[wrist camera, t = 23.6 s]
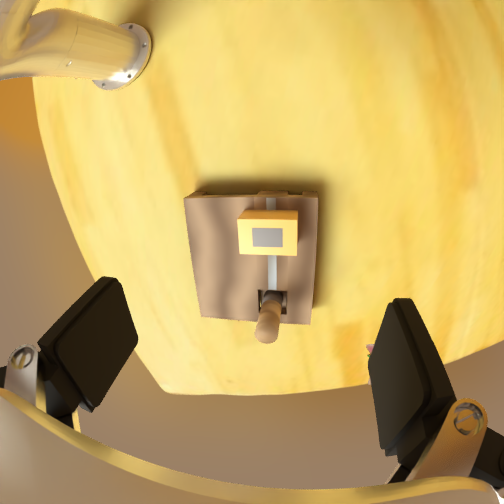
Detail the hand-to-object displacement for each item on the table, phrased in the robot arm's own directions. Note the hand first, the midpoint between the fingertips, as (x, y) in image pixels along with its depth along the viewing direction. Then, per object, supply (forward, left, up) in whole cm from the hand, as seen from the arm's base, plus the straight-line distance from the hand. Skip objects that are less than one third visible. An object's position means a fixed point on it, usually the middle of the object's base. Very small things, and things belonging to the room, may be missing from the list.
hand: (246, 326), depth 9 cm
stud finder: (-2, -6, -27) cm, 28 cm away
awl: (-2, -18, -29) cm, 34 cm away
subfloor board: (-5, -12, -31) cm, 34 cm away
